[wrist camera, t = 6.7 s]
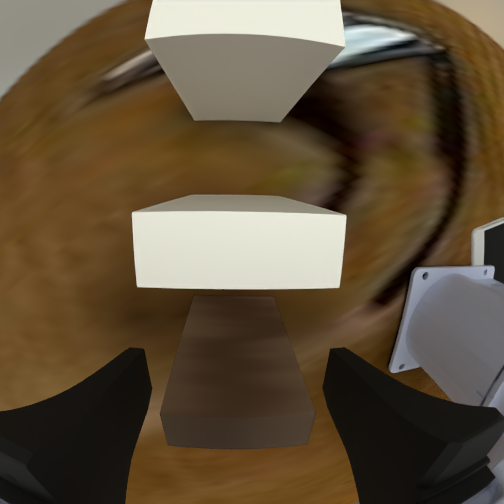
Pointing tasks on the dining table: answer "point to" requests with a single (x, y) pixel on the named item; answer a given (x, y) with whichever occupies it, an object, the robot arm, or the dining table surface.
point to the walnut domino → (236, 379)
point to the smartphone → (489, 247)
